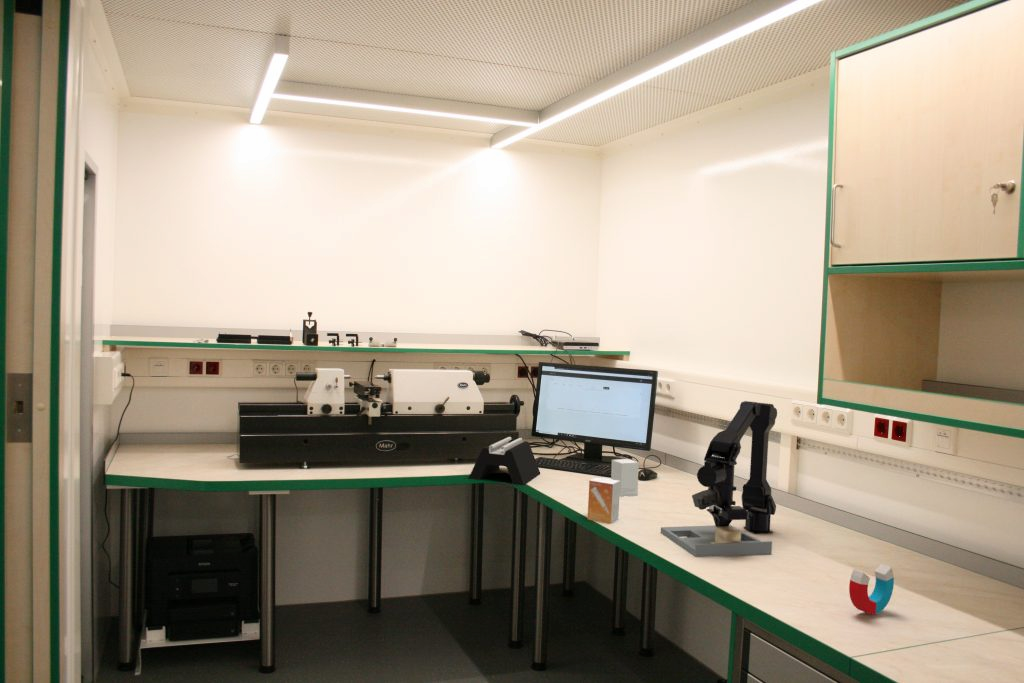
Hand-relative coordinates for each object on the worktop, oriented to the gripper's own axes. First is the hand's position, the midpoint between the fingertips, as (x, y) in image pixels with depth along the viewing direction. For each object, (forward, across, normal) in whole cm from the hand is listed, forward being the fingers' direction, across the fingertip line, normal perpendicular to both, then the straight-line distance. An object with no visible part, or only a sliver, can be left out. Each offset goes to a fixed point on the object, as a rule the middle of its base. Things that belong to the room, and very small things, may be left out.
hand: (720, 536), depth 214 cm
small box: (+4, -29, -24) cm, 38 cm away
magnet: (+3, +49, +10) cm, 50 cm away
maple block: (+1, +4, 0) cm, 5 cm away
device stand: (+4, -90, -41) cm, 99 cm away
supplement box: (+4, -61, -4) cm, 61 cm away
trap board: (+3, -3, 0) cm, 5 cm away
